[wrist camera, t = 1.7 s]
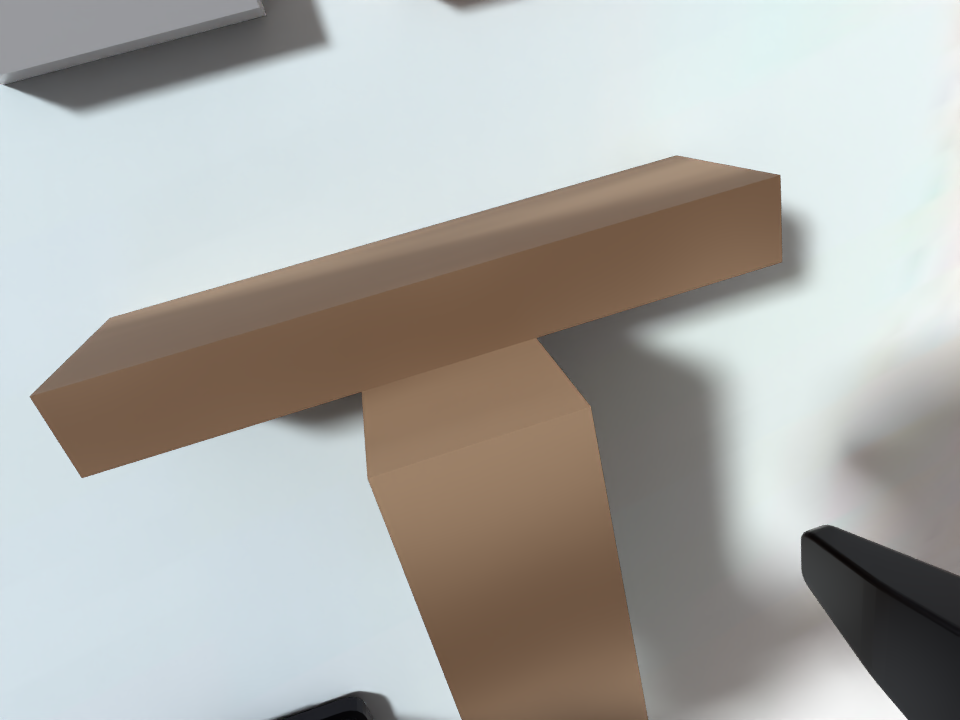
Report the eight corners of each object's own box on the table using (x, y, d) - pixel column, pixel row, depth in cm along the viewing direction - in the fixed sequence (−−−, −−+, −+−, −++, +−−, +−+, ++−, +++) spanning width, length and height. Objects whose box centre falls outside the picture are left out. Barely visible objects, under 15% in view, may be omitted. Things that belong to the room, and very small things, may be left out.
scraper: (705, 472, 17) (877, 652, 11) (272, 618, 16) (237, 891, 10) (675, 155, 13) (907, 199, 8) (110, 317, 12) (-75, 498, 7)
